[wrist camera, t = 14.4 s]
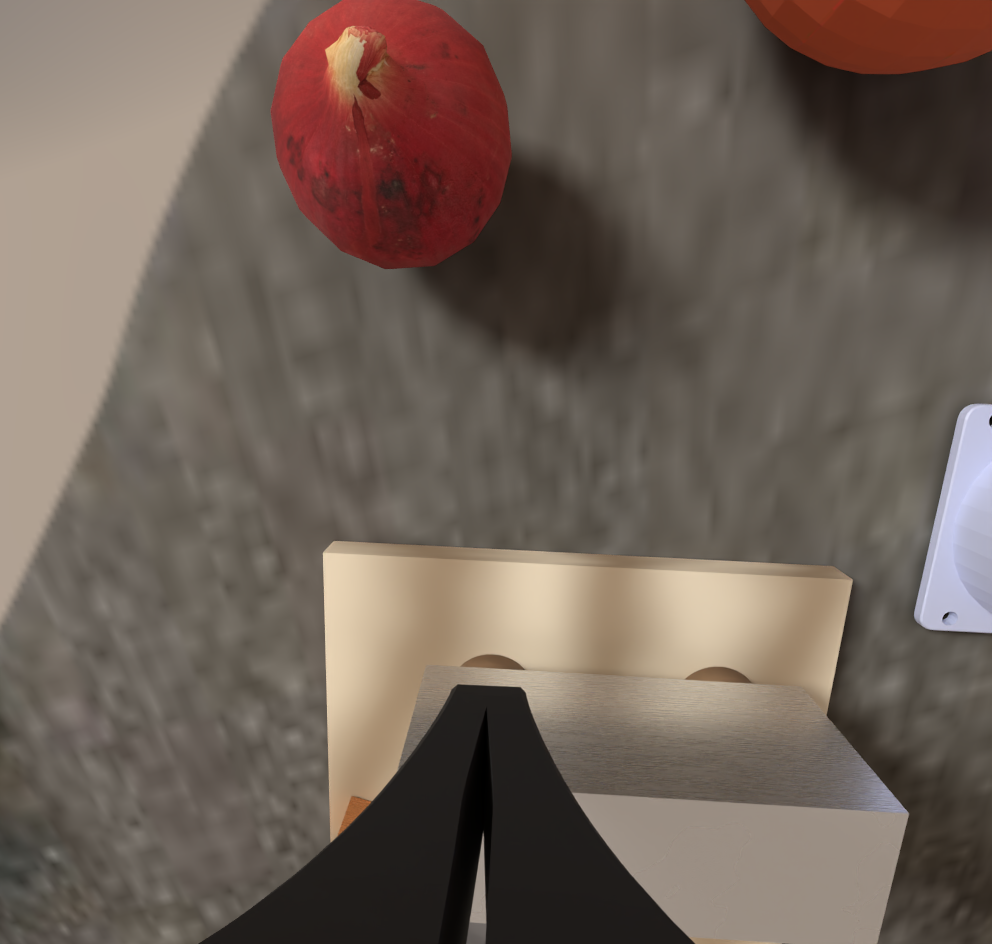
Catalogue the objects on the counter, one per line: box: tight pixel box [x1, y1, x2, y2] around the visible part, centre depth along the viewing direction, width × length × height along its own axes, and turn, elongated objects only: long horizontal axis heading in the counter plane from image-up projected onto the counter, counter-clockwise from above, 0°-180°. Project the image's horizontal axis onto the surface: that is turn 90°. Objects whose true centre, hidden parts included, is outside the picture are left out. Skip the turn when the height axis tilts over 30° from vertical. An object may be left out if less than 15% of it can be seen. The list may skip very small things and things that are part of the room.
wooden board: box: [323, 541, 853, 944], centre depth 21 cm, size 18×20×3 cm
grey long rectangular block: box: [397, 665, 909, 944], centre depth 16 cm, size 12×4×5 cm, turn 87°
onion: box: [271, 0, 512, 269], centre depth 14 cm, size 6×6×8 cm
